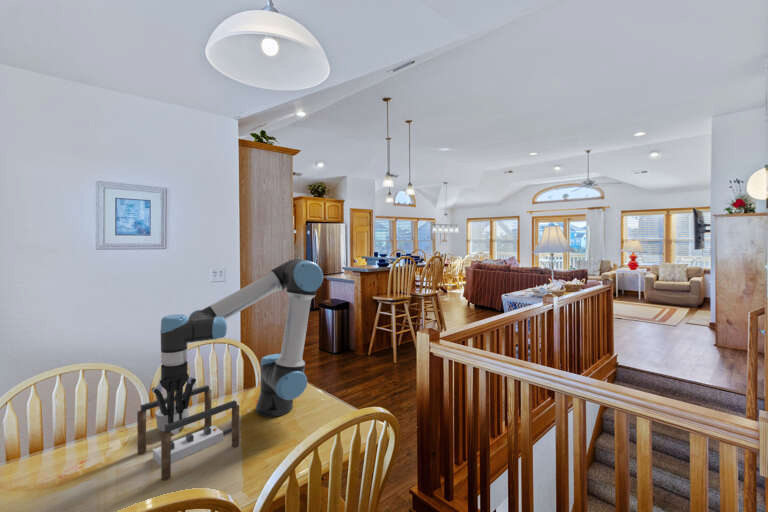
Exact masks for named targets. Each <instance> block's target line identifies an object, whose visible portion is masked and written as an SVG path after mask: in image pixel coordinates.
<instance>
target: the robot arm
mask: <svg viewBox="0 0 768 512" xmlns="http://www.w3.org/2000/svg"><path fill="white" fill-rule="evenodd" d="M323 281H324V274H323V270H322V269H321V267H320V266H319V264H317V263H316V262H313V261H310V260H307V259H306V260H305V259H304V260H302V259H299V258H298V259H295V258H294V259H290V260H287V261H286V262H283V263H281V264H279V265H278V266H276V267H275V268H272V269H270V270H269V271H268V273H267V274H266V275H264V276H263V277H260V278H259V279H257V280H256V281H254V282H251V283H249V284H248V285H246V286H243V287H242V288H240V289H239V290H236V291H235V292H232V293H231V294H229V295H227V296H226V297H223V298H221V299H220V300H218V301H217V302H214V303H213V304H210V305H208V306H207V307H204V308H203V309H197V310H194V311H192V312H191V313H190V315H189V316H187V315H186V314H183V313H182V314H181V313H180V314H177V313H175V314H170V315H169V314H168V315H165V316H163V317H162V318H161V320H160V331H159V332H160V364H161V365H160V377H161V378H160V380H159V384H157V386H155V387H152V388H151V392H152V393H153V394H155V398H156V400H157V401H158V405H159V406H158V408H159V409H160V411H161V413H162V414H163V415H164V416H167V415H168V424H170V423H173V422H175V421H178V420H181V419H182V413H183V410H184V409H187V408H188V409H189V407H188V405H189V404H190V400H191V397H192V396H191V392H192V390H193V389H194V388H193V387H194V385H195V383H196V382H197V379H196V378H194V377H192V376H189V375H190V374H188V373H189V372H188V370H189V368H188V359H189V357H188V343H189V344H190V343H196V342H203V341H210V340H213V341H214V340H218V339H222V338H225V337H226V334H227V332H228V331H227V330H228V329H227V328H228V327H227V325H228V323H227V321H226V320H227V319H229V318H230V317H232V316H234V315H237V314H238V313H240V312H241V311H243V310H245V309H246V308H249V307H250V306H252V305H254V304H255V303H257V302H259V301H260V300H262V299H264V298H266V297H268V296H270V295H271V294H273V293H275V292H277V291H279V292H282V291H284V290H285V289H286V294H287V295H288V297H289V299H288V303H287V305H288V306H287V311H286V317H285V324H284V330H283V336H282V342H281V349H280V353H274V354H268V355H265V356H263V357H262V358H261V360H260V365H259V366H260V393H259V395H258V399H257V401H256V402H257V403H256V404H255V406H256V407H255V410H256V411H255V412H256V414H257V415H258V416H262V417H265V418H266V417H267V418H272V417H273V418H274V417H279V416H282V415H283V416H284V415H285V414H289V411H290V410H291V409H292V410H293V408H294V399H297V398H299V397H300V396H302V394H304V392H305V390H307V389H306V388H307V387H308V386H307V385H308V378H307V375H306V374H305V368H306V361H305V360H303V355H304V349H305V342H306V336H307V329H308V324H309V323H308V322H309V315H310V309H311V303H312V299H313V298H315V297H316V296H317V290H319V288H320V287H321V286H322V284H323ZM185 384H186V385H185ZM184 387H185V388H184ZM162 388H163V389H164V390H165V391H166V392H165V393H166V397H167V404H165V401H164V398H165V397H164V395H163V394H162V392H163V389H162ZM183 392H184V396H183V399H182V393H183ZM174 395H175V400H176V401H174ZM174 403H176V411H175V412H174ZM166 405H167V408H166ZM189 406H190V405H189ZM292 410H291V411H292ZM291 411H290V412H291ZM171 432H172V433H171V434H173V435H174V436H175V435H177V434H179V433H180V430H179V428H177V429H175V430H172V431H171Z"/></svg>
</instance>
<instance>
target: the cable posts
mask: <svg viewBox="0 0 768 512" xmlns="http://www.w3.org/2000/svg"><path fill="white" fill-rule="evenodd" d="M212 392H213V390H212V389H210V388H209V391H205V392H204V411H206V410H209V409H212V408H213V407H212V405H213V404H212V402H213V401H212V395H213V394H212ZM212 418H213V415H212V416H209V417H207V418H204V427H207V426H208V427H211V426H213V425H212V422H213V421H212ZM136 419H137V427H136V428H137V455H144V454H145V452H147V410H145V411H142V410H141V409H140V410H138V411H137V418H136ZM231 427H232V432H231V447H232V449H234V448H237V447H239V446H240V405H239V404H237V406H236V407H233V408H231ZM171 434H172V433H171V431H169V432H166V431H163V432H162V431H161V434H160V442H161V443H160V445H161V446H160V447H161V467H160V468H161V470H160V472H161V473H160V474H161V481H165V482H166V481H168V480H170V479H171V477H172V474H171V473H172V469H171V468H172V466H171V464H172V463H171V441H172V435H171Z"/></svg>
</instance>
